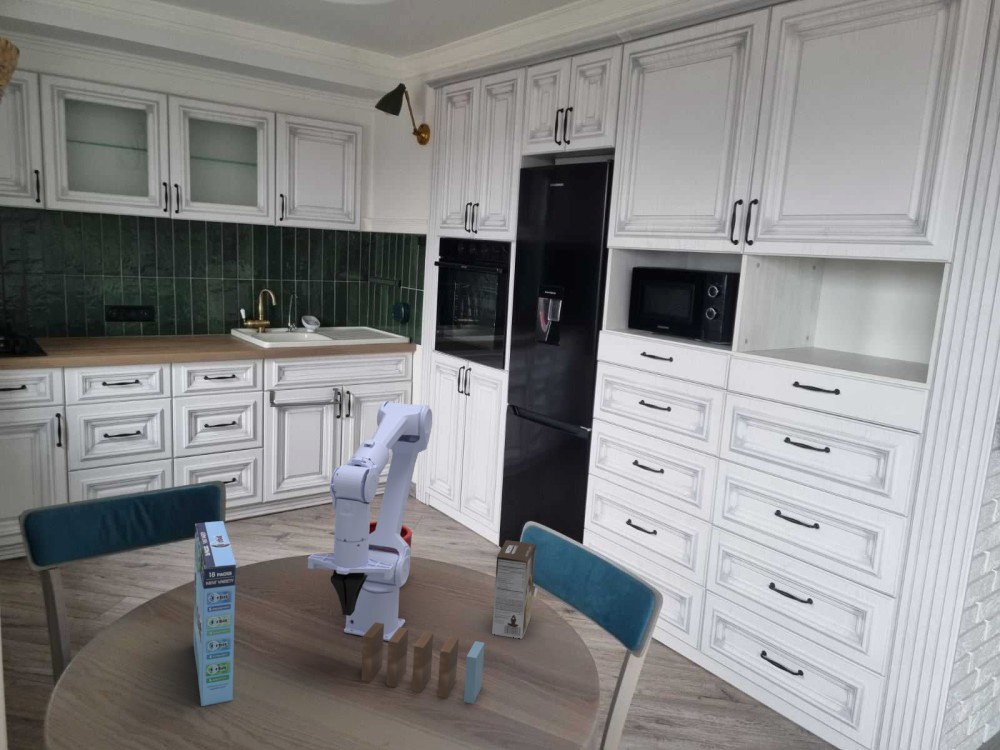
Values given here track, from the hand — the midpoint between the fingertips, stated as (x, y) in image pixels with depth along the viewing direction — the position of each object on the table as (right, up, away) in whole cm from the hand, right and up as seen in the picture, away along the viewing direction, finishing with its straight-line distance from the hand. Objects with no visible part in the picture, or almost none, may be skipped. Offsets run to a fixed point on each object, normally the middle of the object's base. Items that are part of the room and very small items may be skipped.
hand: (348, 612), depth 122 cm
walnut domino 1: (+4, -11, +1) cm, 11 cm away
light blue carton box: (-22, -10, -2) cm, 24 cm away
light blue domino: (+21, -12, -3) cm, 25 cm away
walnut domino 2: (+8, -11, 0) cm, 14 cm away
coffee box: (+28, -10, +20) cm, 36 cm away
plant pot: (-1, -5, +36) cm, 37 cm away
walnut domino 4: (+17, -12, -2) cm, 21 cm away
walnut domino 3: (+13, -12, -1) cm, 17 cm away
